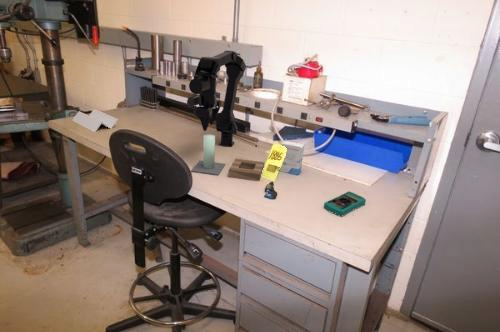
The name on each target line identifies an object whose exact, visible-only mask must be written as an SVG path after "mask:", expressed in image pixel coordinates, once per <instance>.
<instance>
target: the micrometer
mask: <svg viewBox="0 0 500 332" xmlns="http://www.w3.org/2000/svg"><path fill="white" fill-rule="evenodd" d="M274 184H275V183H274V181H269V183H268V184H266V186H265V187H264V192H265V194H264V195H263V196H264V198H266V199H270V200H276V198H277V196H278V192H277V191H276V190H275V188H274V186H275V185H274ZM269 194H270V195H269Z"/></svg>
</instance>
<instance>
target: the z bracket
mask: <svg viewBox="0 0 500 332" xmlns="http://www.w3.org/2000/svg"><path fill="white" fill-rule="evenodd" d="M118 120H119V119H118V118H116V117H114V116H111V115H109V114H107V113H104V112H102V111H100V110H97V109H96V108H94V109H92V111H91V112H90V113H89V115H88V114H86V113H84V112H81V111H80V110H79V111H78V112H77V113H76V114H75V116H74V117H73V119H71V121H73V122H74V123H76V124H78V125H80V126H81V127H84V128H85V129H88V130H89V131H92V132H94V133H95V132H97V130H98V129H99V128H100V126H103V127H106V128H107V127H108V128H107V129H109V128H111V129H112V128H113V127H114V126H115V125H116V123H117V122H118Z"/></svg>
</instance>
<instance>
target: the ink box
mask: <svg viewBox="0 0 500 332" xmlns="http://www.w3.org/2000/svg"><path fill="white" fill-rule="evenodd" d="M281 145H282V146H285V147H286V148H287V152H286V157H285V160H284V162H283V165H282V167H281V170H280V171H279V172H282V173H288V174H292V175H295V176H298V175H299V174H300V173H301V171H302V165H303V160H304V159H303V158H304V150H305V144H302V143H298V142H294V141H293V142H292V141H288V140H284V141H283V142H281V144H280V146H281Z"/></svg>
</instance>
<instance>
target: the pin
mask: <svg viewBox="0 0 500 332" xmlns="http://www.w3.org/2000/svg"><path fill="white" fill-rule="evenodd" d="M202 146H203V153H202V156H203V158H202V159H203V160H202V161H203V168H205V169H213V168H214V162H215V155H216V154H215V152H216V151H215V149H216V135H214V134H210V133H209V134H207V133H206V134H203V145H202Z"/></svg>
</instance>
